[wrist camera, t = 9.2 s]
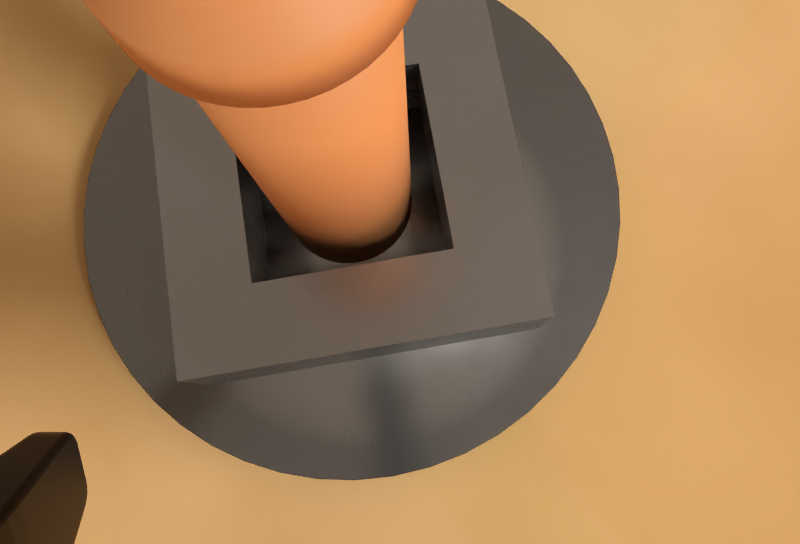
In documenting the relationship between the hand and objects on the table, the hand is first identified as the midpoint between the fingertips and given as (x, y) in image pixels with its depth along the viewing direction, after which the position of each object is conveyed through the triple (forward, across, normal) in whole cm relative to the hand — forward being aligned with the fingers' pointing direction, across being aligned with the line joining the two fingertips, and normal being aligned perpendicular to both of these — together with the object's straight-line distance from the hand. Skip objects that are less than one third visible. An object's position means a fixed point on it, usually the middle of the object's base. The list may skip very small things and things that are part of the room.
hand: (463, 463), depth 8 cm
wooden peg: (+14, +2, +2) cm, 14 cm away
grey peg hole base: (+15, +2, +3) cm, 15 cm away
